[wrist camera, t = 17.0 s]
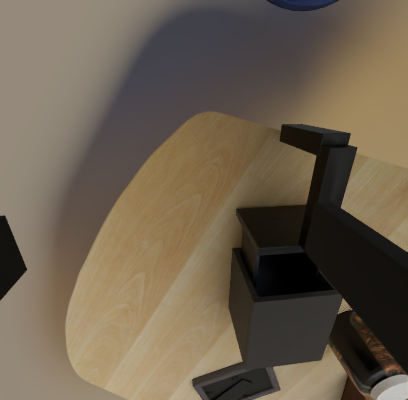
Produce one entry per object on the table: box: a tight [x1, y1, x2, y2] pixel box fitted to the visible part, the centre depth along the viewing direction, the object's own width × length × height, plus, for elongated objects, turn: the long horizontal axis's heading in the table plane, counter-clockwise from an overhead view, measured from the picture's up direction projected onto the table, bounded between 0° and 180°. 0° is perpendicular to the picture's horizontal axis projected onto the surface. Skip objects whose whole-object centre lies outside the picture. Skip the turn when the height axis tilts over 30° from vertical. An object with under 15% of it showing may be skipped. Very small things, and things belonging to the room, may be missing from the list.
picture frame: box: [192, 362, 280, 400], centre depth 62 cm, size 16×2×21 cm
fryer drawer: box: [236, 124, 357, 297], centre depth 34 cm, size 30×14×13 cm, turn 0°
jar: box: [327, 311, 408, 400], centre depth 51 cm, size 12×12×15 cm
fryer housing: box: [229, 248, 343, 370], centre depth 42 cm, size 16×14×13 cm
